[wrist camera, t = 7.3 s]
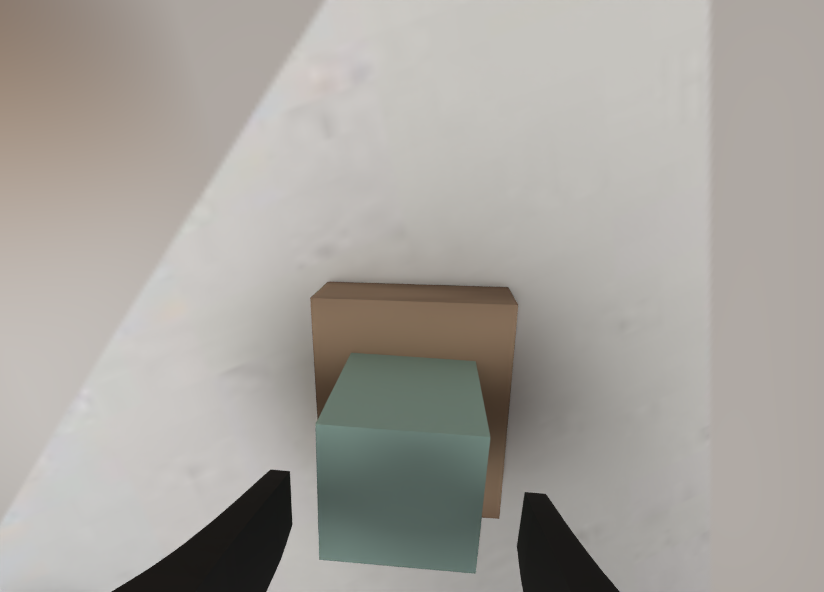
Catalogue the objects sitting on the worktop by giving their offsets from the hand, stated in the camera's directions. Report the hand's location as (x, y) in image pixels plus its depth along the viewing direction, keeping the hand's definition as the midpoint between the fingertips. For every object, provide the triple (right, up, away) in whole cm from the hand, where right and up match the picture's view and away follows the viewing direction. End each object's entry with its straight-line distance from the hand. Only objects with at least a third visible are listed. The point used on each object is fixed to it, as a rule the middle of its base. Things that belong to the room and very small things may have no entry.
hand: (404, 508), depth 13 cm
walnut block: (0, +2, +8) cm, 8 cm away
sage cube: (0, +2, +5) cm, 5 cm away
